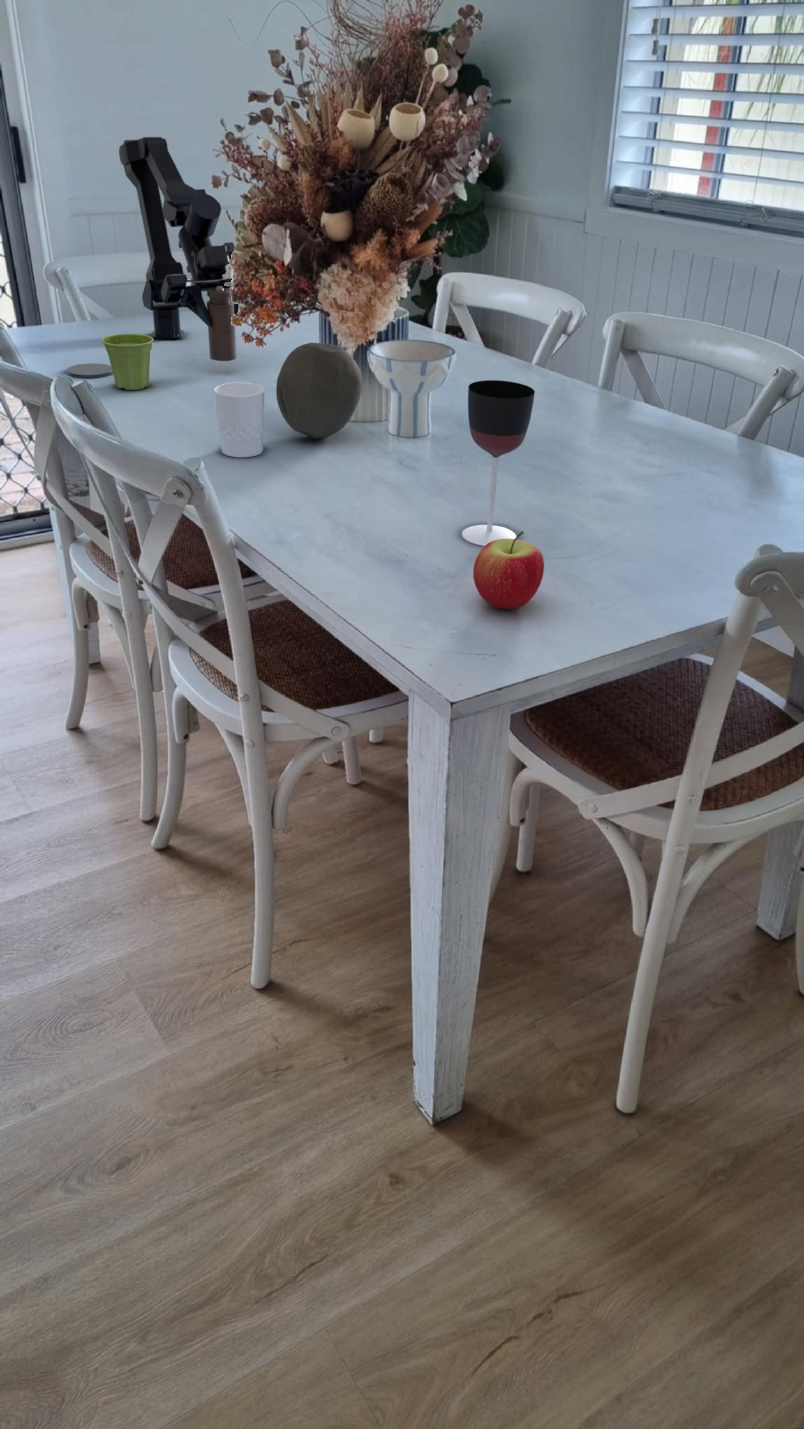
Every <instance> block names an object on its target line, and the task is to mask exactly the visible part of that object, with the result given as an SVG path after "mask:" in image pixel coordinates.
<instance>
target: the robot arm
mask: <svg viewBox="0 0 804 1429" xmlns="http://www.w3.org/2000/svg"><path fill="white" fill-rule="evenodd" d="M118 156H119V161H120V163H121V165H122V166H123V170H124V174H125V176H126V178H127V180H128V181H129V182H130V183H131V184H132V185H133V186H134V187H135V190H136V195H137V199H138V205H139V208H140V215H141V220H142V225H143V230H144V235H145V239H146V244H147V249H148V255H149V264H148V267H147V270H146V273H145V279H146V281H145V284H144V287H143V291H142V295H141V299H142V304H143V307H144V308H146V309H148V310H149V311H152V318H153V332H152V335H151V337H152V338H153V339H154V340H182V339H183V336H184V330H183V329H181V318H180V317H181V316H180V309H181V308H184V309H185V308H187V309H189V310H190V311H191V312H192V313H193V314H195V315H196V316H197V317H198V318H199V319H200V320H201V321H202V322H203V323H204V324H205V325H206V326H207V328H208V327H211V326H212V322H211V318H210V315H209V313H208V310H207V304H206V302H205V300H204V298H203V293H207V290H208V289H210V288H216V287H217V286H222V287H223V288H228V289H229V287H227V286H224V283H225V282H231V280H232V277H231V278H225V277H224V276H223V275H226V274H227V268H226V267H227V265H230V264H231V262H230V259H231V254H232V252H233V251H234V248H236V246H235V244H234V242H233V241H232V242H231V241H230V242H224V243H223V244H222V245H212V241H211V239H210V238H211V237H212V236H213V235H214V233H215V231H216V229H217V228H216V227H217V225H218V222H219V219H220V216H221V214H222V205H221V204H220V202H219V201H218V200H217V199H216V198H215V197H214V196H212V195H210V194H208V193H207V192H206V190H205V189H204V188H198V189H195V188H194V187H192V186H190V185H189V184H187V183H186V182H185V180H184V179H183V177H182V175H181V173H180V171H179V169H178V167H177V165H176V163H175V161H174V159H173V158H172V157H173V156H172V155H171V153H170V152H169V146H168V142H167V139H166V138H163V137H162V136H143V137H142V138H138V139H125V140H123V143H122V144H121V145H119V147H118ZM161 194H162V196H163V202H162V196H161ZM166 223H168V225H169V227H171V228H180V229H179V232H178V235H177V238H178V248H179V249H182V252H183V255H184V258H185V260H186V263H187V266H186V271H187V273H188V274H190V275H191V278H188V277H187V274H185V272H184V266H183V264H182V262H180V261H177V260H176V259H175V258H174V256H173V254H172V249H171V242H170V238H169V234H168V228H167V224H166ZM229 263H230V264H229ZM230 298H231V297H230ZM238 310H239V311H240V304H239V305H238V304H234V314H236V313H237V312H238Z"/></svg>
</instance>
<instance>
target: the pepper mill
mask: <svg viewBox="0 0 804 1429" xmlns="http://www.w3.org/2000/svg"><path fill="white" fill-rule="evenodd" d="M206 296H207V297H208V298H209V300H207V301H206V308H207V310H208V313H209V315H210V318H211V322H212V326H211V327H208V326H207V332H208V348H209V349H208V350H209V359H210V360H212V361H216V362H229V361H230V362H231V361H234V360H236V359H237V341H236V325H235V326H232V325H231V317H232V315H233V314H234V303H232V302H231V298H230V297H231V294H230V289H228V288H223V287H222V286H217V287H216V288H210V289H208V290H207V292H206Z"/></svg>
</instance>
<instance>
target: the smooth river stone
mask: <svg viewBox="0 0 804 1429" xmlns="http://www.w3.org/2000/svg"><path fill="white" fill-rule="evenodd" d="M278 373H279V374H278V376H277V380H276V388H275V390H276V392H275V393H276V395H275V396H276V401H277V406H278V408H279V411H280V413H281V415H282V417H283V419H284V420H285V423H287V424H288V426H289V427H290V428H291V429H292V430H293V431H295V432H296V433H300V434H302V435H304V436H306V437H308V438H311V439H314V440H322V439H326V438H329V437H331V436H333V435H335V434H337V433H338V432H340V431H341V430H342V429H343V428H344V427H346V425H347V424H349V421H351V419H352V417H353V416H354V413H355V411H356V409H357V407H358V405H359V402H360V399H361V395H362V391H363V375H362V372H361V369H360V367H359V365H358V363H357V362H356V360H355V359H354V357H353V356H352V355H351V353H349V352H348V351H347V350H346V349H344V348H343V347H340V346H339V345H335V344H333V343H322V342H307V343H304V344H301V345H299V346H297V347H295V349H292V351H291V352H290V353H289V354H288V355H287V357H286V358H285V360H284V362H283V364H282V366H281V368H280V371H279V372H278Z"/></svg>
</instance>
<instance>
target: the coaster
mask: <svg viewBox="0 0 804 1429" xmlns="http://www.w3.org/2000/svg"><path fill="white" fill-rule="evenodd" d="M66 372H67V375H69V376H70V377H74V378H78V379H79V378H80V379H96V378H104V377H107V376H110V375H113V372H112V368H111V365H109V364H104V363H94V362H89V363H79V364H74V365H72V366H69V367H68V368H67V369H66Z"/></svg>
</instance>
